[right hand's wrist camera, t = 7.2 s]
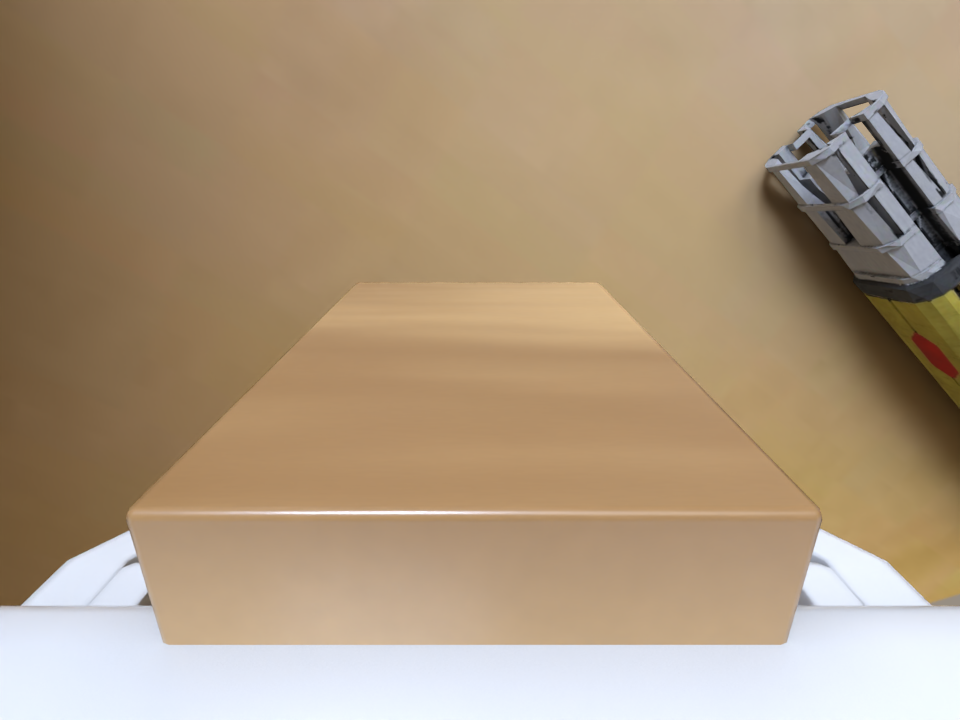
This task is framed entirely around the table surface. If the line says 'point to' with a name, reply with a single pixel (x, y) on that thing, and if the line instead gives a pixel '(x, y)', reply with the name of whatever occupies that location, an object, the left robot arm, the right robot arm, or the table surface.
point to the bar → (475, 488)
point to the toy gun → (886, 223)
